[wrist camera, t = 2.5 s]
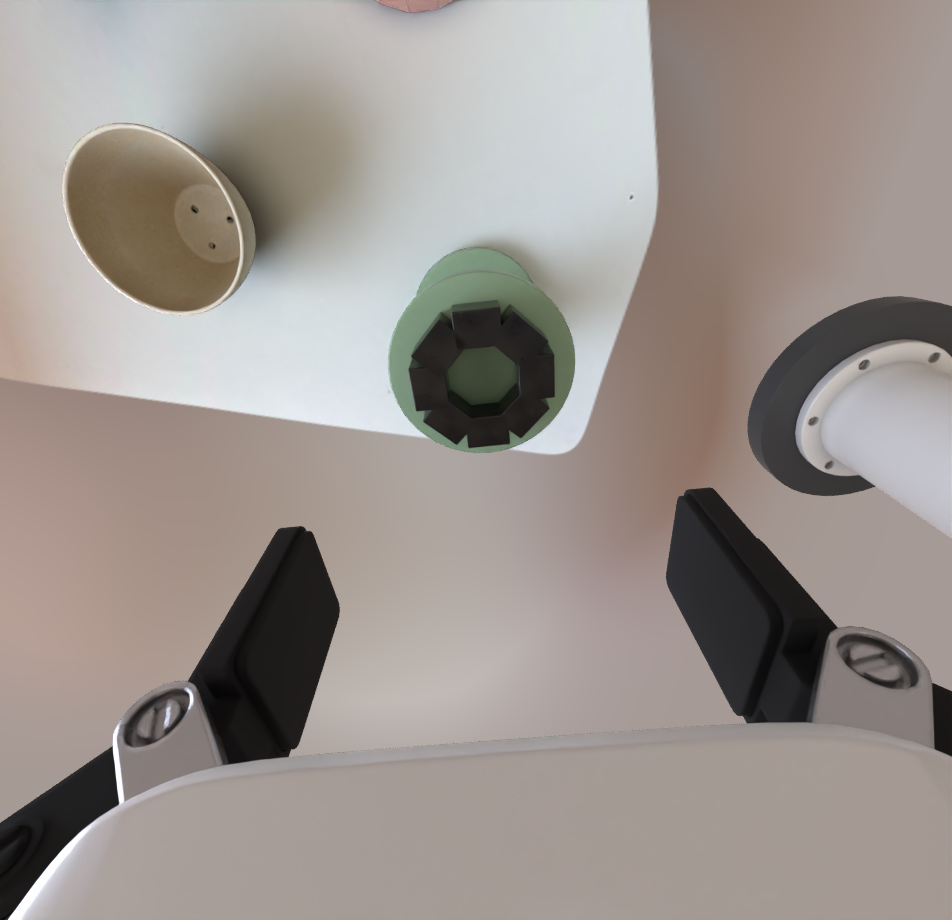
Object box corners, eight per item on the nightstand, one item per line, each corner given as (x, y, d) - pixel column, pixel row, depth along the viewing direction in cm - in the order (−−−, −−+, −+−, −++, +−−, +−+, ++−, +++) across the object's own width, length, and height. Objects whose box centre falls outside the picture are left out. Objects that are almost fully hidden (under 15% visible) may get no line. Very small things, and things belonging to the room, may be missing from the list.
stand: (536, 239, 33) (576, 259, 21) (540, 368, 38) (574, 444, 26) (404, 255, 33) (369, 283, 21) (425, 380, 38) (406, 461, 26)
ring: (547, 294, 22) (553, 300, 20) (550, 425, 25) (555, 440, 24) (402, 310, 22) (398, 318, 20) (426, 438, 26) (423, 453, 24)
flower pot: (312, 259, 33) (277, 272, 27) (209, 317, 35) (154, 341, 29) (222, 108, 29) (155, 82, 23) (109, 184, 31) (19, 179, 25)
